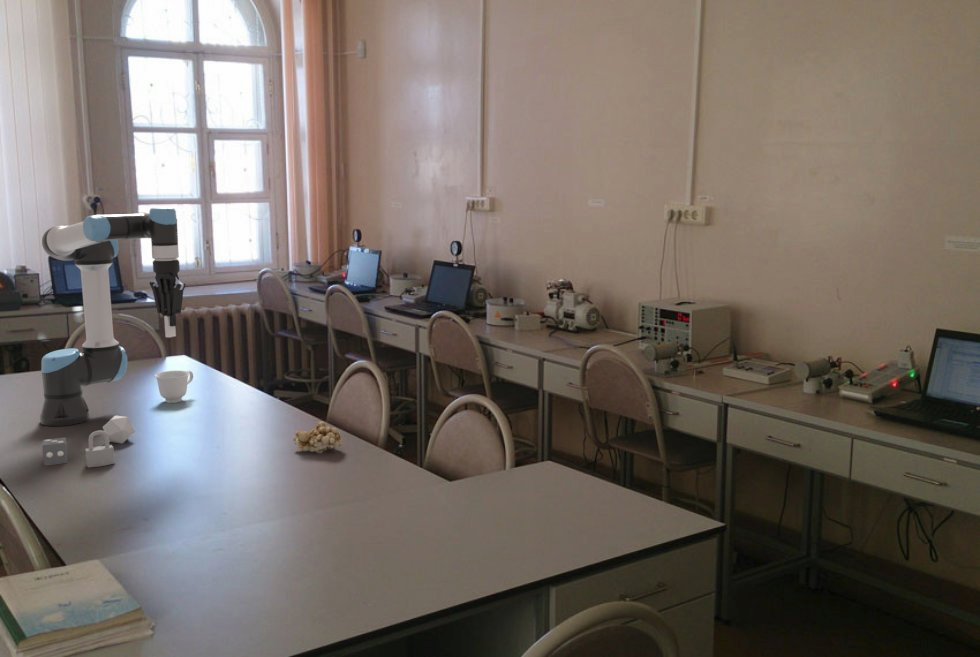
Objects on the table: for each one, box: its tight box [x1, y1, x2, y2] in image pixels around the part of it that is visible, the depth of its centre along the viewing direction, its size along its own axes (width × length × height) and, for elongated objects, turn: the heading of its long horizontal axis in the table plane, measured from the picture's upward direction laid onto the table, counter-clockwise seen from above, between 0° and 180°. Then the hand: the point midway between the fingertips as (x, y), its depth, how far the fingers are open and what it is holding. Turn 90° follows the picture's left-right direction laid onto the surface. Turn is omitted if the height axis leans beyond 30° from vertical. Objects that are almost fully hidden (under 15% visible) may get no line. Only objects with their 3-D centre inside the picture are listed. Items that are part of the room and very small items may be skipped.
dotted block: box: [41, 437, 68, 467], centre depth 261 cm, size 6×6×6 cm
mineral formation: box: [292, 421, 343, 454], centre depth 270 cm, size 8×13×15 cm
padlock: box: [84, 430, 116, 469], centre depth 258 cm, size 7×4×10 cm, turn 122°
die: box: [102, 415, 136, 444], centre depth 280 cm, size 8×9×10 cm
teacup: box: [154, 370, 194, 404], centre depth 330 cm, size 12×15×10 cm
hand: (170, 336), depth 277 cm, fingers closed
